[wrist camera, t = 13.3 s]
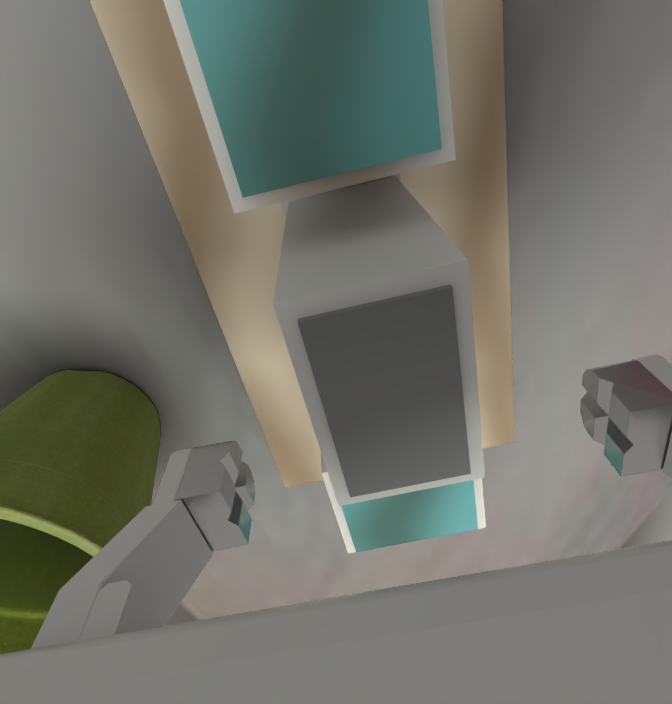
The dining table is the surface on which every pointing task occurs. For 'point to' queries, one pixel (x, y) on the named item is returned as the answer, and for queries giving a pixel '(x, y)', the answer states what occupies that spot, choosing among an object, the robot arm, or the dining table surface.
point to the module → (381, 340)
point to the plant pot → (67, 486)
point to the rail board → (262, 228)
